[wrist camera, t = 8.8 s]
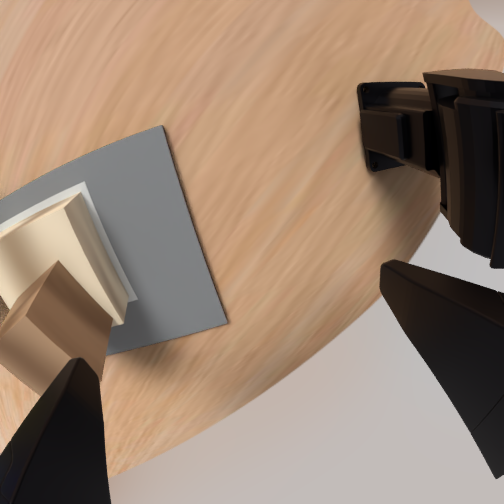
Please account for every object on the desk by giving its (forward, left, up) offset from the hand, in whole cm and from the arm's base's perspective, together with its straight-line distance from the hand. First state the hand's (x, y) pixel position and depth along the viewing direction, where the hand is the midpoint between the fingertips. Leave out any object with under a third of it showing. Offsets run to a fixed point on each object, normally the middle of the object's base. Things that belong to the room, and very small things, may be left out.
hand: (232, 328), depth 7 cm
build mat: (+9, +3, -12) cm, 15 cm away
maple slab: (+11, +1, -11) cm, 16 cm away
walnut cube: (+10, +3, -8) cm, 14 cm away
